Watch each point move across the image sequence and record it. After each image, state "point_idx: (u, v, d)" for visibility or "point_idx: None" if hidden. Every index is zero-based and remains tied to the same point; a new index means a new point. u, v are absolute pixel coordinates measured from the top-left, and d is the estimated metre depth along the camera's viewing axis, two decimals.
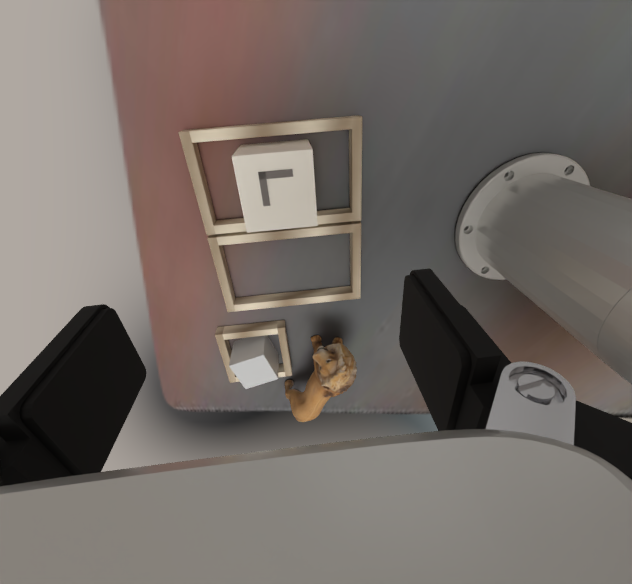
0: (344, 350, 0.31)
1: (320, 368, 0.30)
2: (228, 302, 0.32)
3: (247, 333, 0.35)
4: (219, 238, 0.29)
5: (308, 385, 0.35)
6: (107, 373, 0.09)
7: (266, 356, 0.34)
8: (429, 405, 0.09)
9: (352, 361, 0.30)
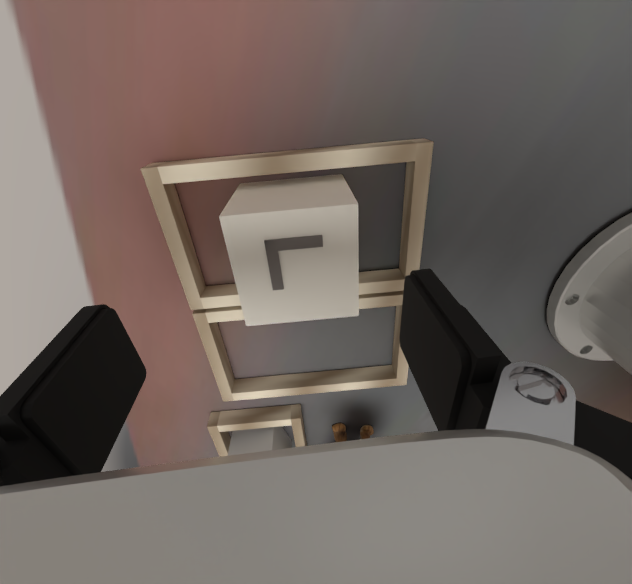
0: None
1: None
2: (224, 390, 0.23)
3: (251, 425, 0.26)
4: (209, 314, 0.20)
5: None
6: (107, 373, 0.09)
7: None
8: (429, 405, 0.09)
9: None
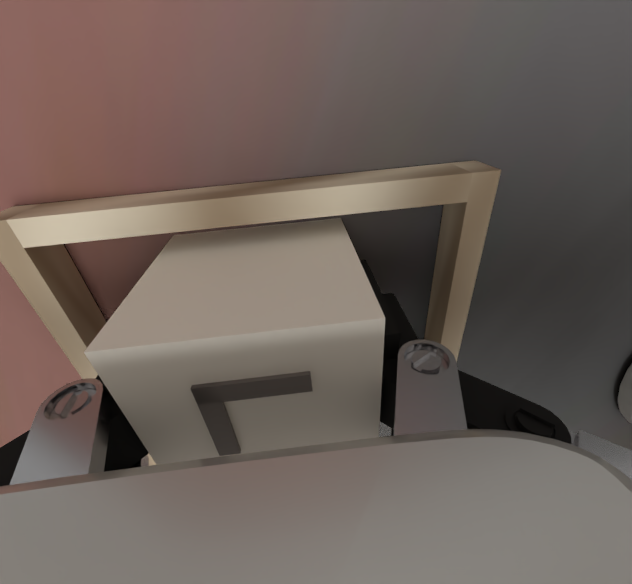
0: None
1: None
2: None
3: None
4: None
5: None
6: None
7: None
8: None
9: None
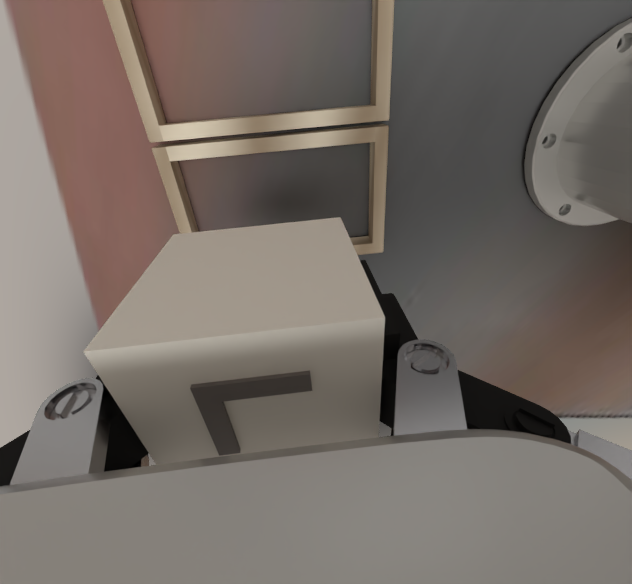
0: None
1: None
2: None
3: None
4: (170, 149, 0.19)
5: None
6: None
7: None
8: None
9: None
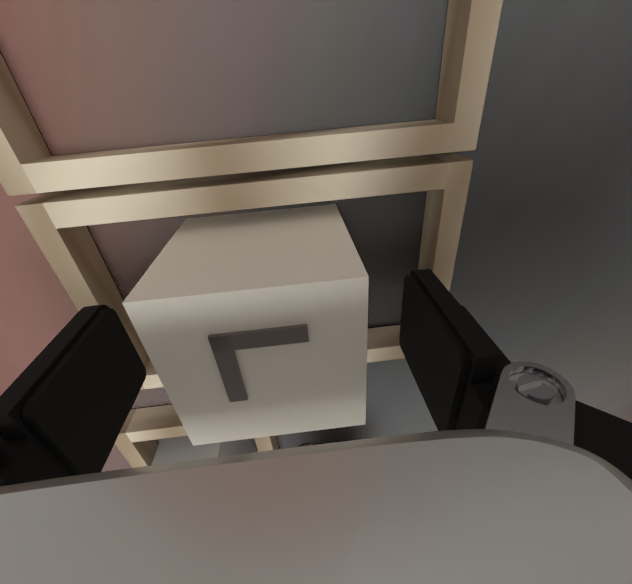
0: None
1: None
2: None
3: (183, 430, 0.16)
4: (53, 206, 0.10)
5: None
6: (107, 373, 0.09)
7: None
8: (429, 405, 0.09)
9: None
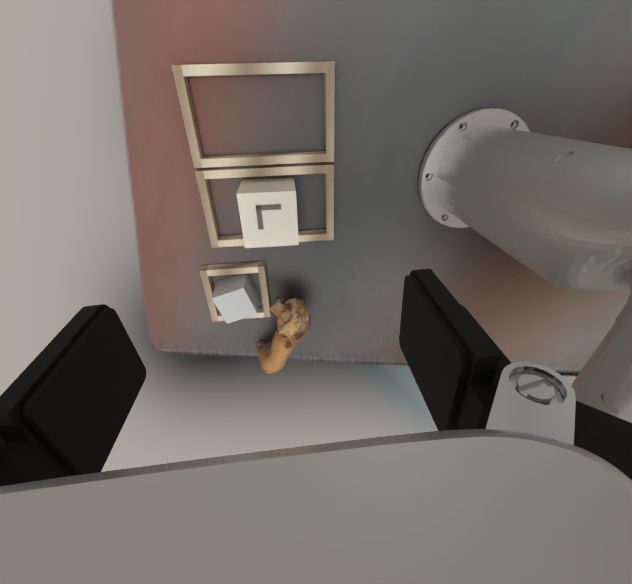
0: (298, 302, 0.36)
1: (277, 318, 0.35)
2: (212, 237, 0.35)
3: (230, 271, 0.38)
4: (205, 172, 0.32)
5: (272, 339, 0.40)
6: (107, 373, 0.09)
7: (246, 290, 0.37)
8: (429, 405, 0.09)
9: (304, 311, 0.35)
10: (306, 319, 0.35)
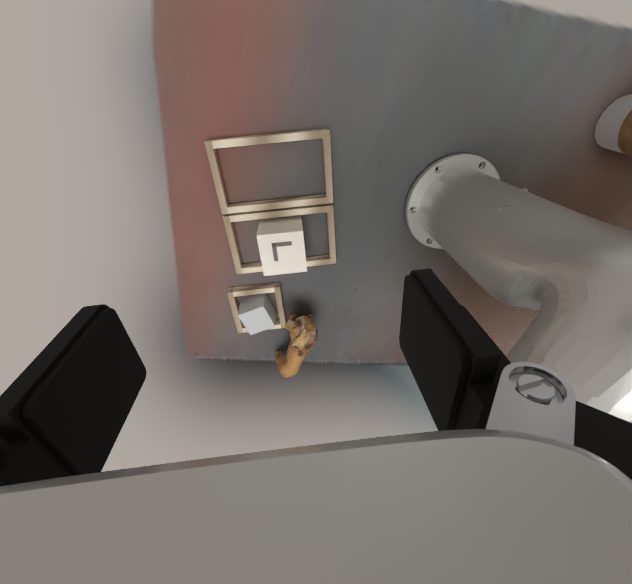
0: (306, 319, 0.43)
1: (290, 333, 0.43)
2: (237, 266, 0.43)
3: (251, 292, 0.46)
4: (231, 216, 0.40)
5: None
6: (107, 373, 0.09)
7: (265, 308, 0.45)
8: (429, 405, 0.09)
9: (312, 326, 0.43)
10: (313, 333, 0.43)
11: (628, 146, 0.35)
